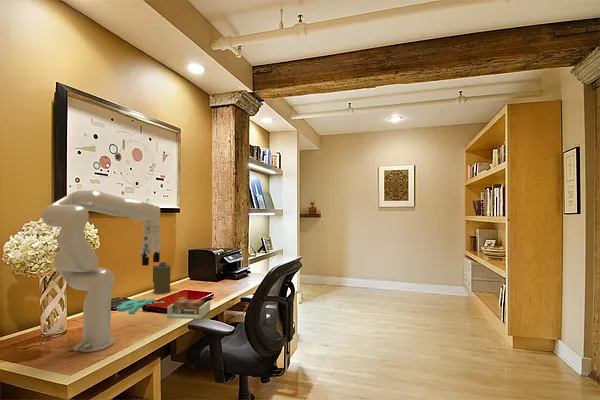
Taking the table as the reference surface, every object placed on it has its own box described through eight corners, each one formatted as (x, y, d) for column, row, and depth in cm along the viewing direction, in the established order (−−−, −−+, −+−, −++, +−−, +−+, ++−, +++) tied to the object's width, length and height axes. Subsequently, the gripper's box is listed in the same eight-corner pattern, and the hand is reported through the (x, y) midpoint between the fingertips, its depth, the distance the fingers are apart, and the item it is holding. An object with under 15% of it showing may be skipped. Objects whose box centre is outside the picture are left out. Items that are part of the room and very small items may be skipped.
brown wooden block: (203, 306, 167) (203, 299, 167) (199, 310, 161) (199, 303, 161) (179, 305, 169) (179, 299, 169) (173, 309, 163) (173, 302, 163)
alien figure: (164, 305, 181) (144, 300, 192) (164, 301, 181) (144, 296, 192) (131, 315, 164) (110, 309, 175) (131, 311, 164) (110, 305, 175)
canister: (172, 289, 215) (172, 260, 216) (167, 294, 205) (168, 263, 205) (155, 290, 214) (156, 261, 214) (150, 294, 203) (151, 263, 204)
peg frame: (201, 318, 158) (201, 308, 158) (167, 317, 160) (167, 306, 160) (209, 311, 170) (210, 301, 170) (178, 310, 172) (178, 300, 172)
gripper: (148, 231, 149) (148, 266, 148) (167, 228, 166) (166, 261, 166) (134, 230, 150) (133, 266, 149) (154, 228, 167) (153, 260, 166)
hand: (151, 263), depth 157 cm, fingers open, 9 cm apart
